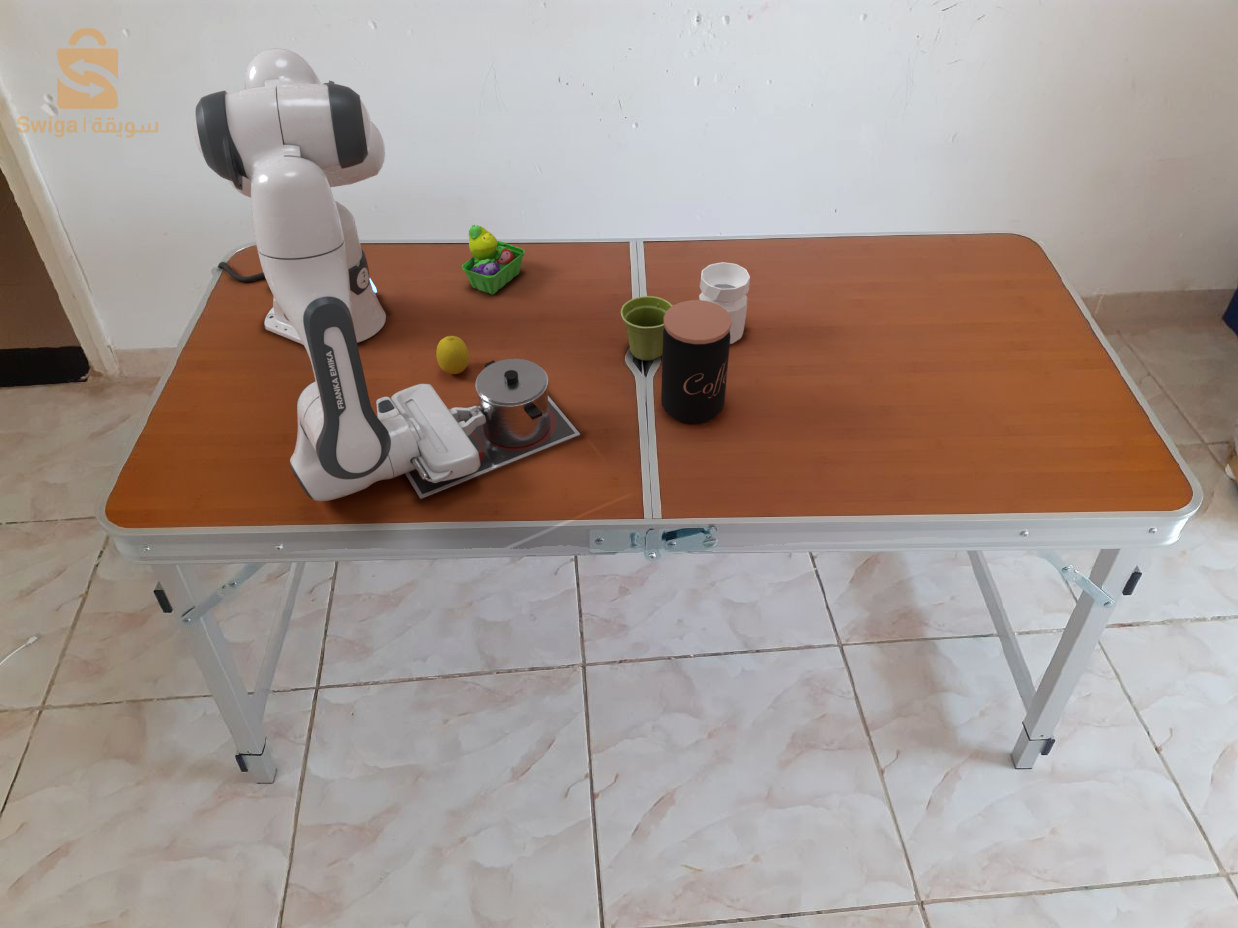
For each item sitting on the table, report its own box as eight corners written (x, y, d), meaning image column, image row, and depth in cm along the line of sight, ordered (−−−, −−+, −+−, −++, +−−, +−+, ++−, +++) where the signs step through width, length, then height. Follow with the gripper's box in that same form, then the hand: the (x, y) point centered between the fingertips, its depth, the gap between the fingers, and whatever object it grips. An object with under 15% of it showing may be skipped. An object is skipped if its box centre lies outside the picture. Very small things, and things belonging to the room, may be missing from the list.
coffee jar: (681, 435, 157) (685, 347, 144) (649, 398, 164) (651, 311, 151) (736, 414, 160) (745, 327, 148) (702, 379, 167) (708, 292, 154)
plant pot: (668, 370, 169) (670, 330, 163) (616, 363, 170) (615, 324, 164) (676, 338, 175) (678, 299, 169) (626, 332, 177) (626, 293, 171)
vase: (690, 339, 175) (693, 283, 167) (705, 313, 181) (709, 258, 173) (736, 350, 173) (741, 294, 164) (750, 323, 179) (755, 268, 170)
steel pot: (509, 466, 151) (502, 415, 144) (463, 412, 161) (455, 361, 153) (571, 438, 156) (568, 387, 148) (523, 387, 165) (518, 336, 158)
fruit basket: (494, 300, 185) (487, 249, 177) (458, 287, 188) (450, 236, 180) (528, 272, 191) (524, 222, 184) (493, 259, 195) (487, 210, 187)
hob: (420, 500, 147) (420, 498, 146) (385, 443, 156) (385, 440, 156) (580, 436, 157) (580, 434, 156) (538, 386, 166) (538, 383, 166)
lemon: (476, 367, 170) (471, 330, 164) (462, 386, 166) (457, 349, 161) (448, 361, 171) (442, 324, 166) (434, 379, 168) (427, 343, 162)
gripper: (422, 470, 139) (508, 437, 144) (373, 392, 152) (454, 364, 157) (429, 500, 143) (512, 466, 148) (380, 422, 156) (458, 394, 161)
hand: (481, 413), depth 153 cm, fingers closed
